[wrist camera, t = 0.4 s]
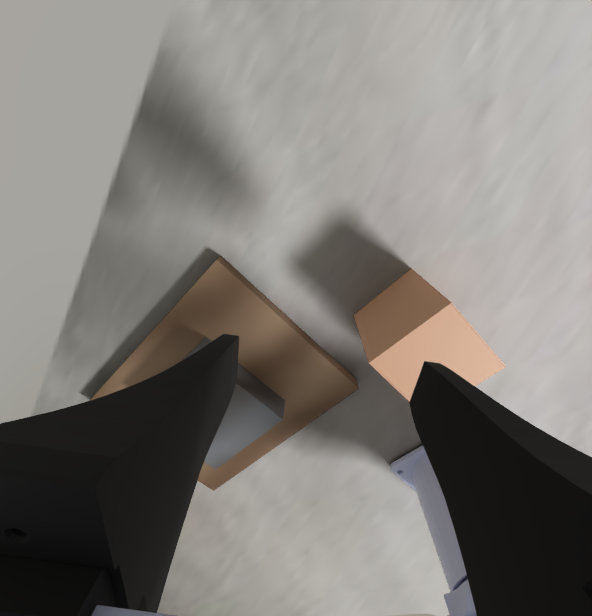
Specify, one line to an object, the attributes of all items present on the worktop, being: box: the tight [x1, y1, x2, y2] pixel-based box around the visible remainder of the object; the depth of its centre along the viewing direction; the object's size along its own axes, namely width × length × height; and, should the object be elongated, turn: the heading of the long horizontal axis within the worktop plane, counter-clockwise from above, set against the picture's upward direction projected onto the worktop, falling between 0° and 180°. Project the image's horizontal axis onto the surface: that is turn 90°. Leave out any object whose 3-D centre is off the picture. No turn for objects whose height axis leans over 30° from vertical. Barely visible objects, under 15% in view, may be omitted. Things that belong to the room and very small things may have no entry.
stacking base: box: [90, 256, 359, 491], centre depth 23 cm, size 14×18×3 cm
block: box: [354, 268, 506, 402], centre depth 18 cm, size 5×5×6 cm
